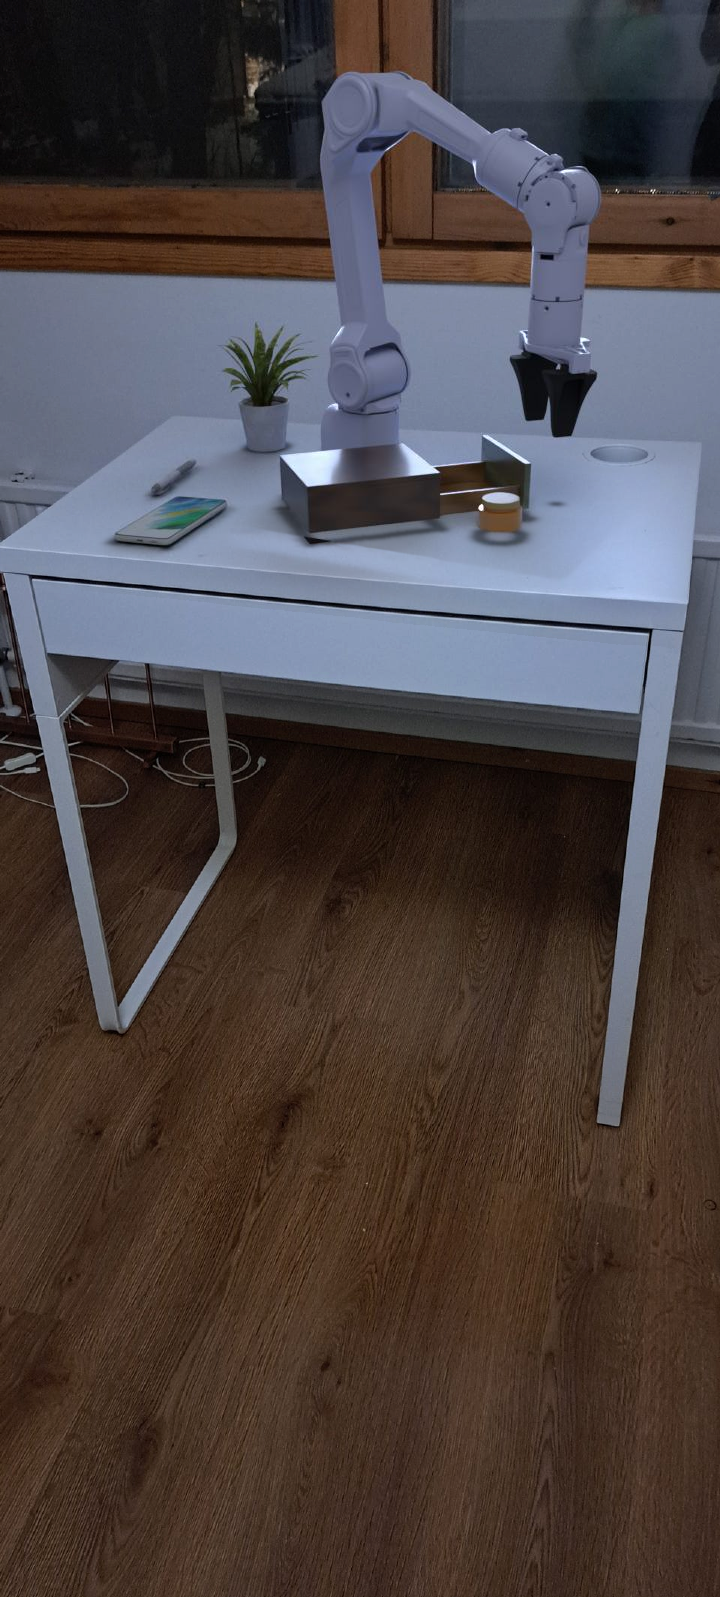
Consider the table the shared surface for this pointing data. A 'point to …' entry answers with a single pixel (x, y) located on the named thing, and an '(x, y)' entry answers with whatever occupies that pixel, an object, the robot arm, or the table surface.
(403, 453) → the cabinet
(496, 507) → the jar
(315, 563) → the table surface
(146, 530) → the smartphone
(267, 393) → the house plant
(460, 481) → the drawer
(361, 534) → the table surface
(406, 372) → the robot arm
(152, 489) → the pen
